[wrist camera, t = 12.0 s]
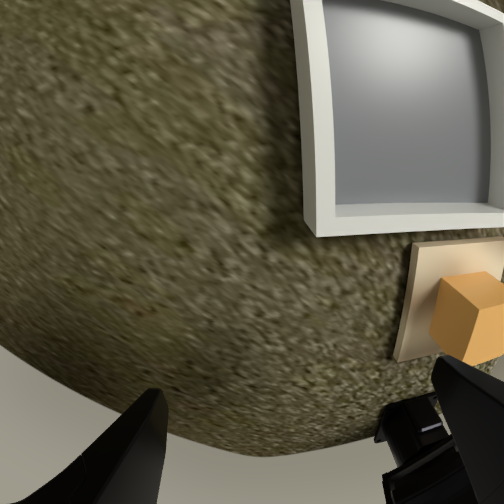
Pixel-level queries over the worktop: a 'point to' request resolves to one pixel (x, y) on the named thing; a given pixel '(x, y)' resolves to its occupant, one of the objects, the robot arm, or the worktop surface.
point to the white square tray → (400, 114)
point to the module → (470, 317)
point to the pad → (428, 282)
